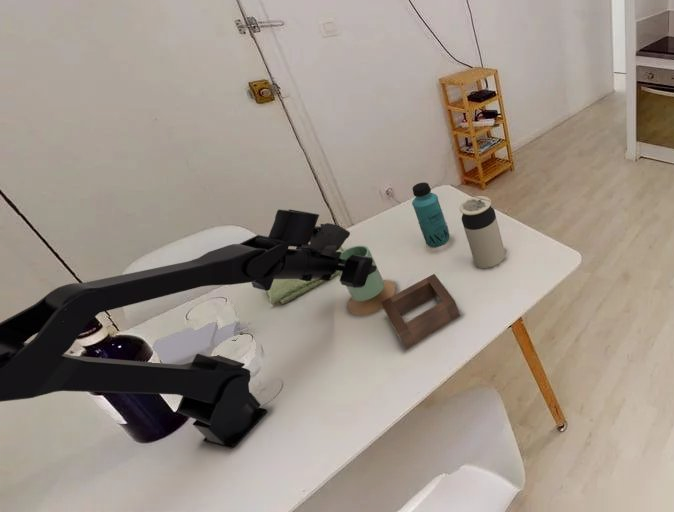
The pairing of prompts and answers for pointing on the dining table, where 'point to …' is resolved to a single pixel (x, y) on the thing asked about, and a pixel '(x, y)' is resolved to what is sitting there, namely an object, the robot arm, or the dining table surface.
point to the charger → (194, 342)
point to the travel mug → (482, 231)
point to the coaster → (372, 301)
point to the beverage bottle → (430, 216)
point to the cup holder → (425, 321)
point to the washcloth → (292, 287)
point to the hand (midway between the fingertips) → (363, 265)
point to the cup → (373, 280)
